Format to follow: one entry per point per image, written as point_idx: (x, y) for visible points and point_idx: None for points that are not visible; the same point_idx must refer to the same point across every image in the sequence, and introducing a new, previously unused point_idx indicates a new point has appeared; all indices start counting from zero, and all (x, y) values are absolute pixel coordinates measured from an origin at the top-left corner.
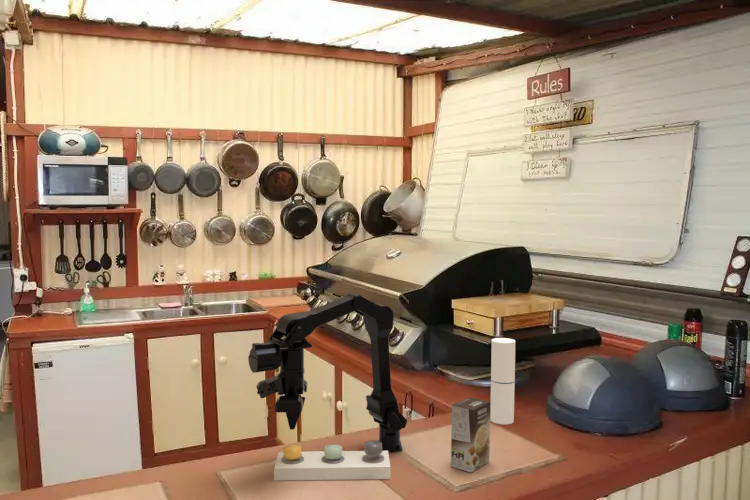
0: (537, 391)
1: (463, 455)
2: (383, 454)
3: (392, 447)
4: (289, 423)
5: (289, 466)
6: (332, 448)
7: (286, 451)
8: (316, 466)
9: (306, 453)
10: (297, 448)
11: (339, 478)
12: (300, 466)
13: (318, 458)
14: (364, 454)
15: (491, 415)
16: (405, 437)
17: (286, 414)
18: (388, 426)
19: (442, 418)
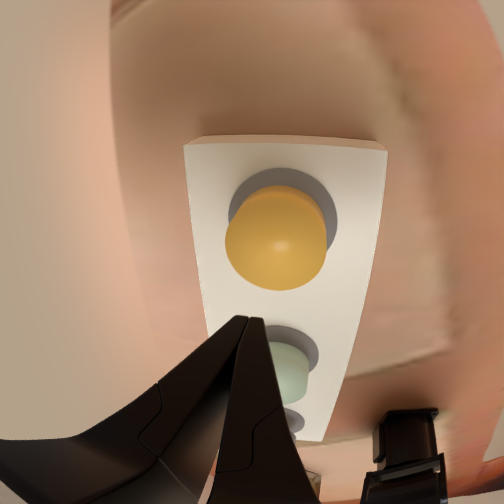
0: (478, 492)
1: None
2: (299, 434)
3: (373, 435)
4: (199, 351)
5: (207, 210)
6: None
7: (234, 216)
8: (214, 306)
9: (347, 277)
10: (267, 272)
11: None
12: (210, 253)
13: (289, 316)
14: (306, 412)
15: None
16: (436, 436)
17: (119, 410)
18: (381, 474)
19: (475, 457)
